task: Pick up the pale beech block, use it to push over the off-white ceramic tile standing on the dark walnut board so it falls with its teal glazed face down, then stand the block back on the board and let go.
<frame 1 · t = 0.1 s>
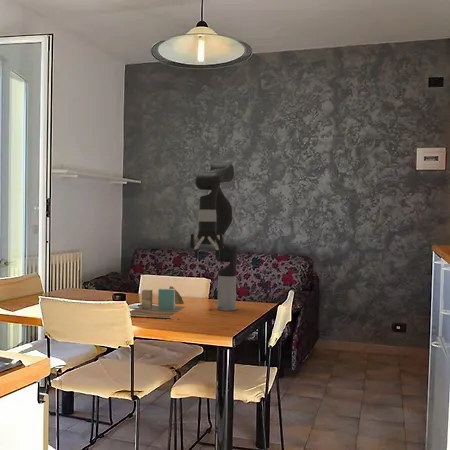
hand: (206, 258, 226), 29 cm above the table, tool pointing down, fingers open, 8 cm apart
tile: (166, 309, 261), point 1 cm above the table, touching board
board: (155, 312, 258), on the table
block: (147, 308, 263), point 1 cm above the table, touching board
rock: (173, 306, 279), on the table
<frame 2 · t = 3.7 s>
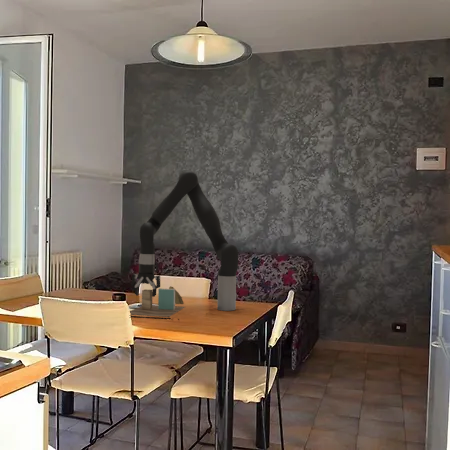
hand: (145, 295, 262), 7 cm above the table, tool pointing down, fingers open, 8 cm apart
tile: (166, 309, 261), point 1 cm above the table, touching board, gripper
everything else where it was.
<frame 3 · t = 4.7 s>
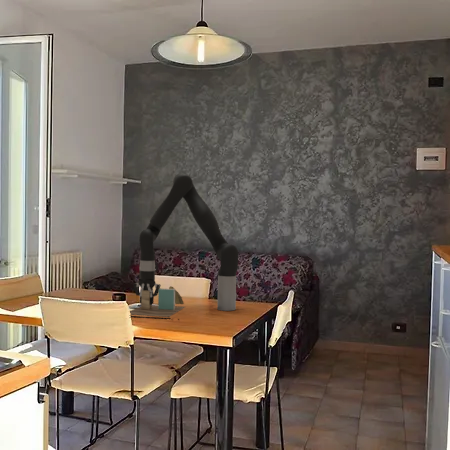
hand: (146, 304, 263), 3 cm above the table, tool pointing down, fingers closed on block, 4 cm apart
tile: (166, 309, 261), point 1 cm above the table, touching board
block: (146, 308, 263), point 1 cm above the table, touching board, gripper
everything else where it was.
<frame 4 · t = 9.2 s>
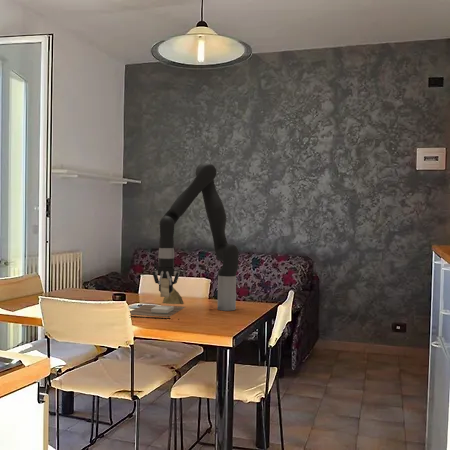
hand: (165, 292, 259), 10 cm above the table, tool pointing down, fingers closed on block, 4 cm apart
tile: (165, 307, 260), point 2 cm above the table, tilted 90°, touching board
block: (165, 296, 260), point 8 cm above the table, touching gripper
everything else where it was.
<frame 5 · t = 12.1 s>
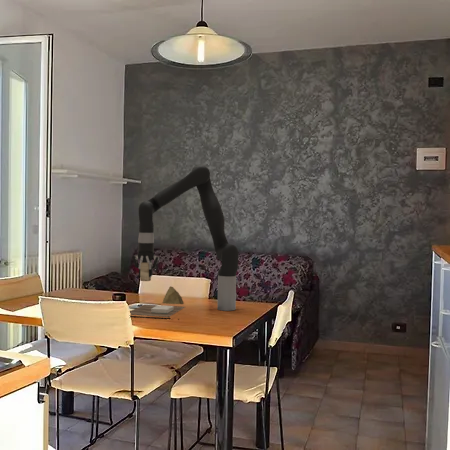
hand: (145, 276, 263), 17 cm above the table, tool pointing down, fingers closed on block, 4 cm apart
block: (145, 280, 263), point 15 cm above the table, touching gripper
everything else where it was.
when the fingers open (5 cm above the table, at t = 14.5 s): block drops 1 cm, resting on board.
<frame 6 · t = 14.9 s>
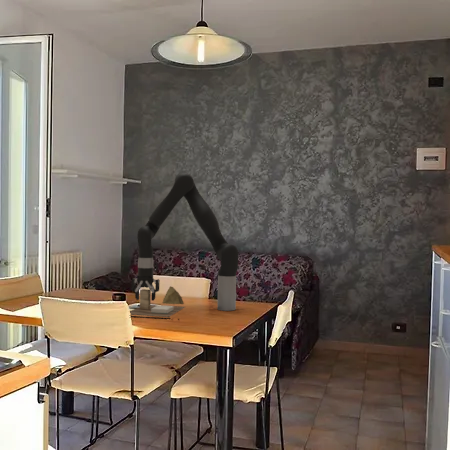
hand: (145, 299, 263), 5 cm above the table, tool pointing down, fingers open, 7 cm apart
block: (145, 308, 263), point 1 cm above the table, touching board
everything else where it was.
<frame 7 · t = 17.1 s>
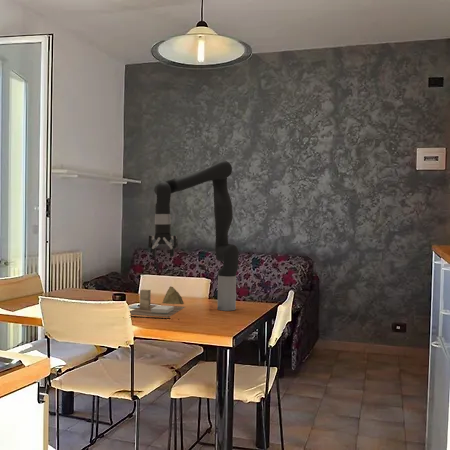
hand: (163, 256, 259), 27 cm above the table, tool pointing down, fingers open, 8 cm apart
nothing on the table moved.
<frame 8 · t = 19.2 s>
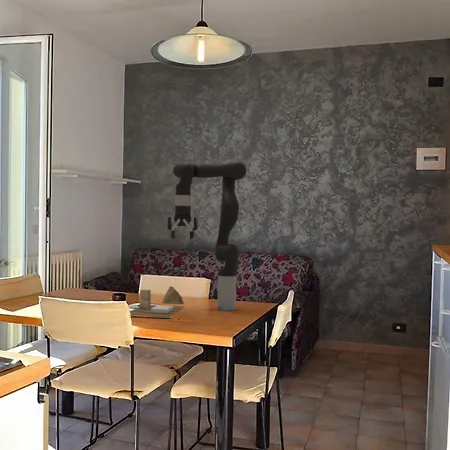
hand: (182, 239, 253), 36 cm above the table, tool pointing down, fingers open, 8 cm apart
nothing on the table moved.
at the end: tile tilted 90°; tile inside the target area (5.0 cm from its centre), point 2.2 cm above the table; block inside the target area (1.3 cm from its centre), point 1.2 cm above the table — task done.
